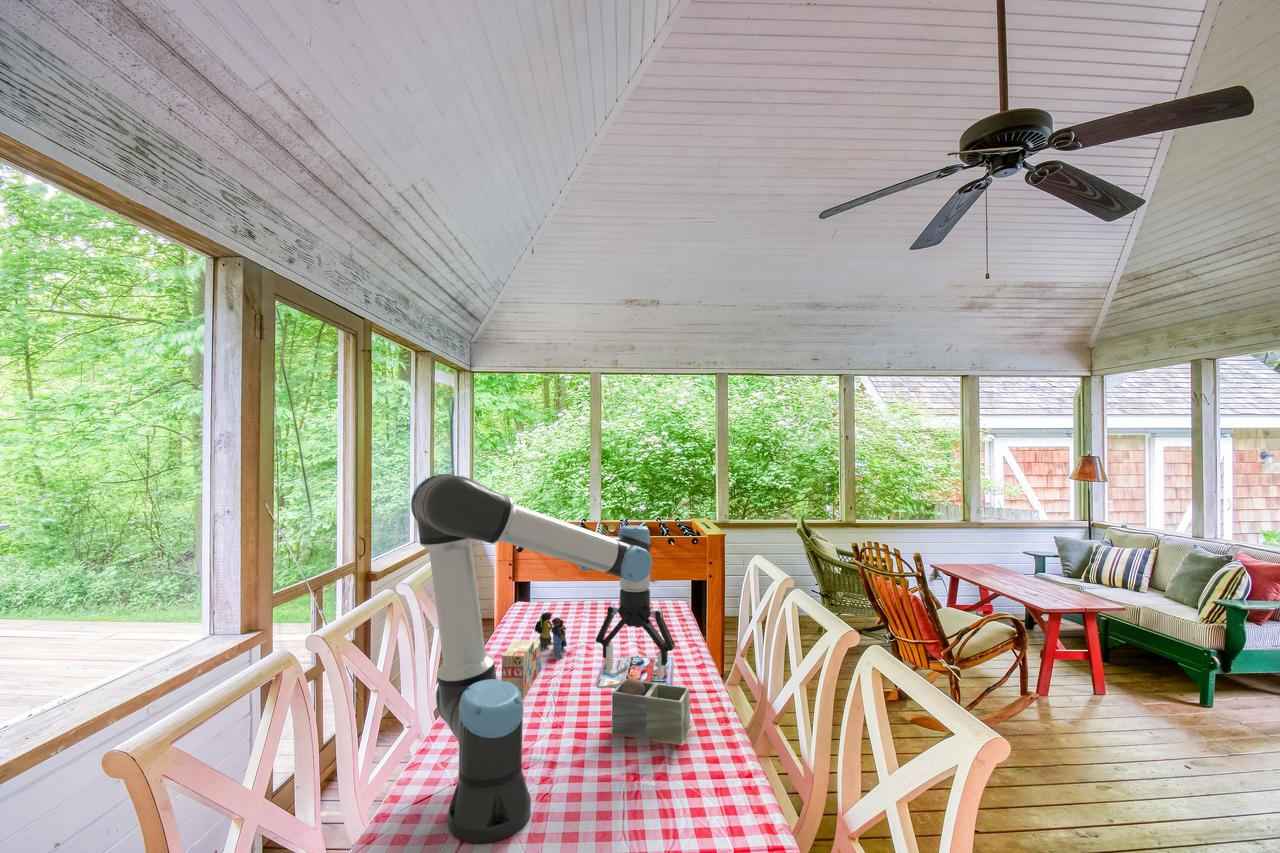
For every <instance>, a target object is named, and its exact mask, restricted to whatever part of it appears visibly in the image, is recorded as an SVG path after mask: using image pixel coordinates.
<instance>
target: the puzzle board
mask: <svg viewBox="0 0 1280 853" xmlns="http://www.w3.org/2000/svg"><path fill="white" fill-rule="evenodd" d="M599 670H600V671H598V672H599V673H598V675H597V678H596V680H595V684H594V685H593V686H595V687H598V688H600V689H602V688H609V689H614V690H615V689H616V688H617V686H618V685H619V684H620V683H621V682H622V681H623V680H624V679H631V678H636V679H638V680H640V681H643V682H651V683H659V684H666V685H673V678H674V676H673V675H674V657H672V656H670V657H669V656H668V662H667V664H666V665H665V666H664V677H663V678H662V679H661V680H658V656H639V655H638V654H637V655H636V654H635V655H633V656H632V655H631V656H613V670H612V671H611V672H610V673H606V658H603V662H602V665H601V667H600V669H599Z"/></svg>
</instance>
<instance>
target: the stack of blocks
mask: <svg viewBox="0 0 1280 853" xmlns="http://www.w3.org/2000/svg"><path fill="white" fill-rule="evenodd" d="M541 671H542V649H541V641H540V640H514V641H513V642H512V643H511V644H510V646H509V647H508V648H507V649H506V650H505V651H504V653H503V654H502V656H501V680H502V681H503V682H505V681H508V682H510V683H512V684H514V685H515V686H516V687H517V688H518V689H519V691H520V692H521V695H522V700H523V699H524V698H525V697H526V695H527V694H528V692H529V691H530V689H531V688H532V685H533V684H534V682H535V681H536V679H537V677H538V676H539V674H540V672H541Z"/></svg>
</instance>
